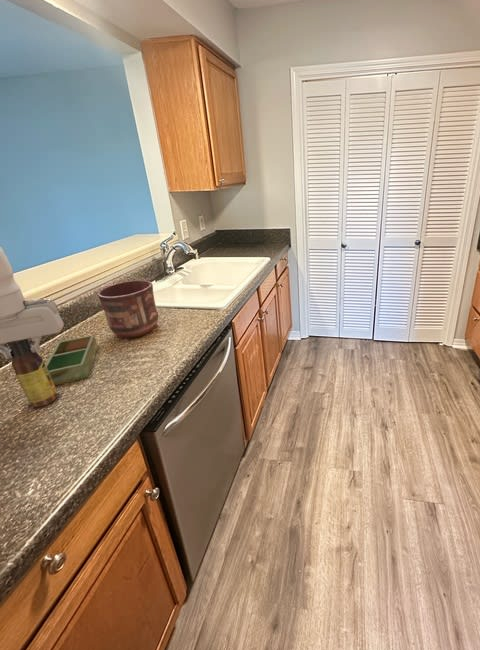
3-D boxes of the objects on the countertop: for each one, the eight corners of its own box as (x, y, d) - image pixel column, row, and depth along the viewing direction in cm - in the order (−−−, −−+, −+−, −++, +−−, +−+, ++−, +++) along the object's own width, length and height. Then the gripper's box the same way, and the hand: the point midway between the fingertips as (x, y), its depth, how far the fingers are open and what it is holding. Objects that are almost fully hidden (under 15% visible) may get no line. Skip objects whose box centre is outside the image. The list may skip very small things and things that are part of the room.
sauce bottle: (63, 397, 89) (37, 333, 81) (36, 411, 84) (7, 344, 76) (51, 390, 92) (25, 328, 84) (25, 403, 87) (-5, 338, 79)
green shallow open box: (46, 387, 93) (39, 374, 91) (63, 354, 111) (58, 341, 109) (88, 377, 97) (83, 364, 95) (98, 346, 114) (94, 334, 112)
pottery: (159, 338, 118) (148, 292, 111) (106, 347, 114) (91, 300, 106) (164, 318, 133) (154, 277, 126) (117, 325, 129) (105, 283, 122)
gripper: (56, 292, 83) (73, 339, 88) (-46, 308, 76) (-21, 358, 81) (49, 301, 77) (68, 350, 83) (-62, 318, 71) (-33, 371, 76)
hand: (23, 354), depth 82 cm, fingers closed on sauce bottle, 4 cm apart
